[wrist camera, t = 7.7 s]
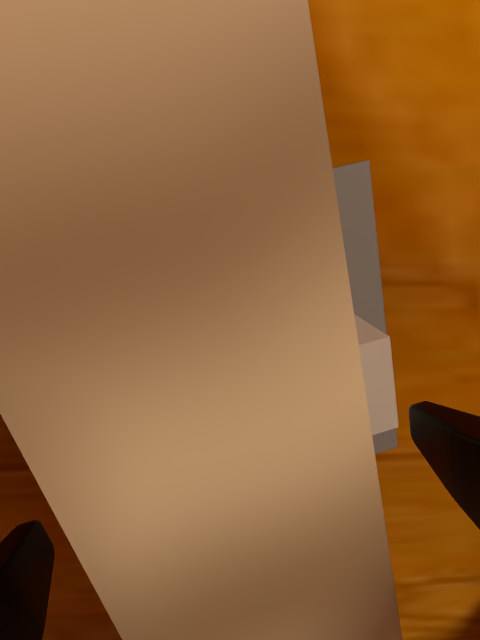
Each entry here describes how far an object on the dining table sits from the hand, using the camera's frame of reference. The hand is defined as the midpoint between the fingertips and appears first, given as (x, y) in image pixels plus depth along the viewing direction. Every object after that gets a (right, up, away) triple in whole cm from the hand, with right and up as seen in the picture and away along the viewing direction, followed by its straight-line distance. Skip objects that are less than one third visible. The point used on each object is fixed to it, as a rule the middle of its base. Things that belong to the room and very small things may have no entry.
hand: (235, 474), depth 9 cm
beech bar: (0, +1, +2) cm, 2 cm away
